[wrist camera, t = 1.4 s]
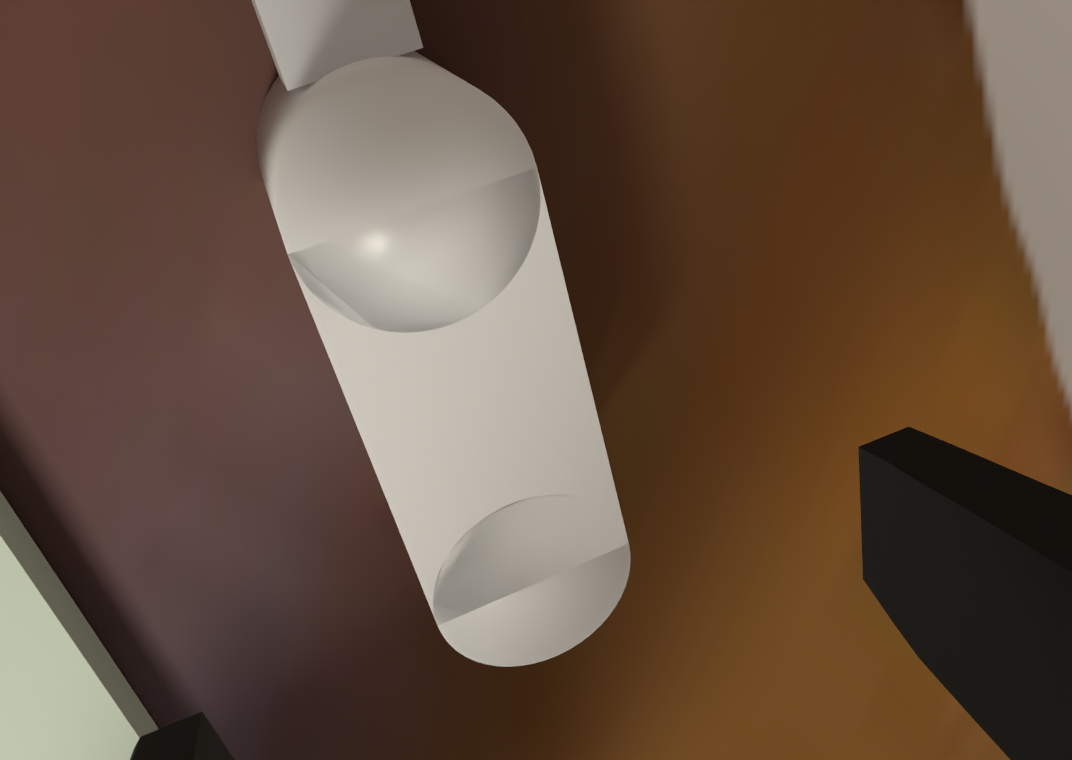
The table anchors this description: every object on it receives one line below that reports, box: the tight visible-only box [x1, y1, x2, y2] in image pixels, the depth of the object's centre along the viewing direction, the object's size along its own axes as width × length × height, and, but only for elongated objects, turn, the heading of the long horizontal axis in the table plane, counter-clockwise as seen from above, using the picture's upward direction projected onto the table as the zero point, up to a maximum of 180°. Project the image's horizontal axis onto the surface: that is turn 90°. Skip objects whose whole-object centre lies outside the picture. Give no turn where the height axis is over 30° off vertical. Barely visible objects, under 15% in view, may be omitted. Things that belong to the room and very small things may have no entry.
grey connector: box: [251, 0, 630, 667], centre depth 16 cm, size 13×4×4 cm, turn 14°
